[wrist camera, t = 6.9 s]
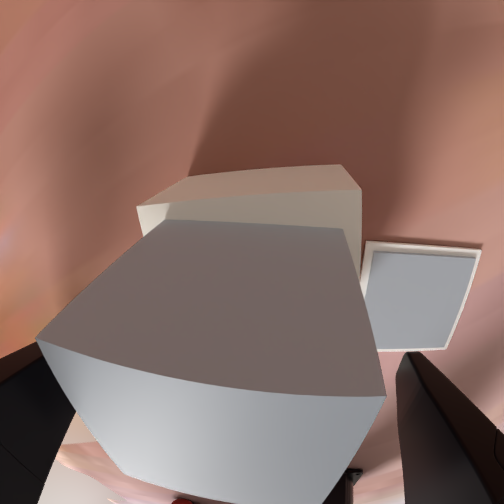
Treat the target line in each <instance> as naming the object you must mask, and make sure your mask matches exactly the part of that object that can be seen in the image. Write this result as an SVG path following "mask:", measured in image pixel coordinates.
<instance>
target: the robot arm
mask: <svg viewBox="0 0 504 504" xmlns="http://www.w3.org/2000/svg"><path fill="white" fill-rule="evenodd" d="M396 396H397V421H398V434H399V441H400V449H401V458H402V468H403V479H404V492H405V504H504V434H503V433H502V432H501V431H500V430H499V429H497V427H496V426H495V425H494V424H493V423H492V422H491V421H490V420H489V419H488V418H487V417H486V416H485V415H484V414H483V413H482V412H481V411H480V410H479V409H478V408H477V407H476V406H475V405H474V404H473V403H472V402H471V401H470V400H469V399H468V398H467V397H466V396H465V395H464V394H463V393H462V392H461V391H460V390H459V389H458V388H457V387H456V386H455V385H454V384H453V383H452V382H451V381H450V380H449V379H448V378H447V377H446V376H445V375H444V374H443V373H442V372H441V371H440V370H439V369H438V368H436V367H435V366H434V365H433V364H432V363H431V362H430V361H429V360H428V359H427V358H426V357H425V356H424V355H423V354H422V353H420V352H418V351H414V352H406V353H405V354H404V356H403V358H402V361H401V363H400V365H399V368H398V370H397V373H396ZM75 413H76V410H75V409H74V407H73V405H72V404H71V402H70V401H69V399H68V398H67V396H66V394H65V393H64V391H63V389H62V388H61V386H60V384H59V383H58V381H57V379H56V377H55V376H54V374H53V372H52V370H51V368H50V366H49V365H48V363H47V361H46V359H45V357H44V355H43V353H42V351H41V349H40V347H39V345H38V343H37V341H36V342H34V343H32V344H30V345H28V346H26V347H24V348H22V349H20V350H17V351H15V352H13V353H11V354H9V355H7V356H5V357H3V358H1V359H0V504H37V503H38V501H39V498H40V495H41V493H42V490H43V487H44V485H45V484H44V483H45V482H46V479H47V476H48V474H49V472H50V469H51V467H52V464H53V462H54V460H55V457H56V455H57V452H58V450H59V448H60V446H61V443H62V441H63V439H64V436H65V434H66V432H67V430H68V428H69V425H70V423H71V421H72V419H73V417H74V415H75ZM362 474H363V470H361V469H357V470H345V471H344V473H343V474H342V476H341V477H340V479H339V480H338V482H337V483H336V485H335V486H334V488H333V489H332V490H331V492H330V493H329V495H328V496H327V497H326V499H325V500H324V502H323V503H322V504H353V486H354V485H355V484H356V482H357V481H358V480H359V478H360V477H361V476H362Z"/></svg>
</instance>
